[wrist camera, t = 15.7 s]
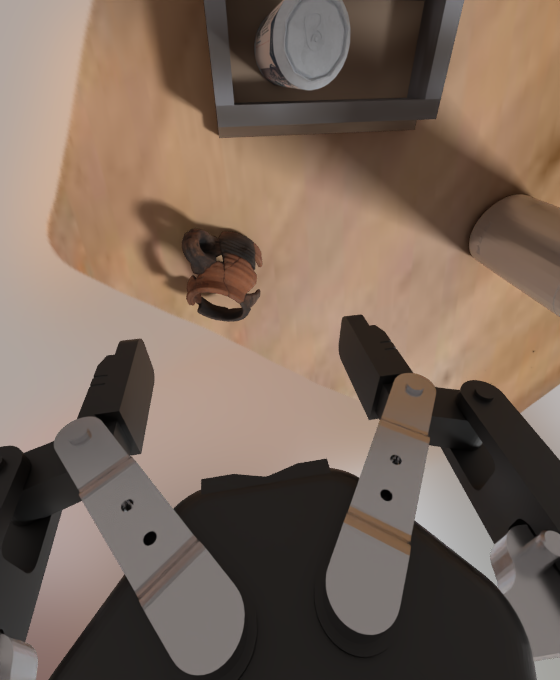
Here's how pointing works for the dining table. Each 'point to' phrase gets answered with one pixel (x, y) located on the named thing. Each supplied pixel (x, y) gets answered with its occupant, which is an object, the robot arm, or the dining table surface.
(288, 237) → the dining table surface
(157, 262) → the dining table surface
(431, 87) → the frame
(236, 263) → the broken pottery vessel
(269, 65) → the beer can
